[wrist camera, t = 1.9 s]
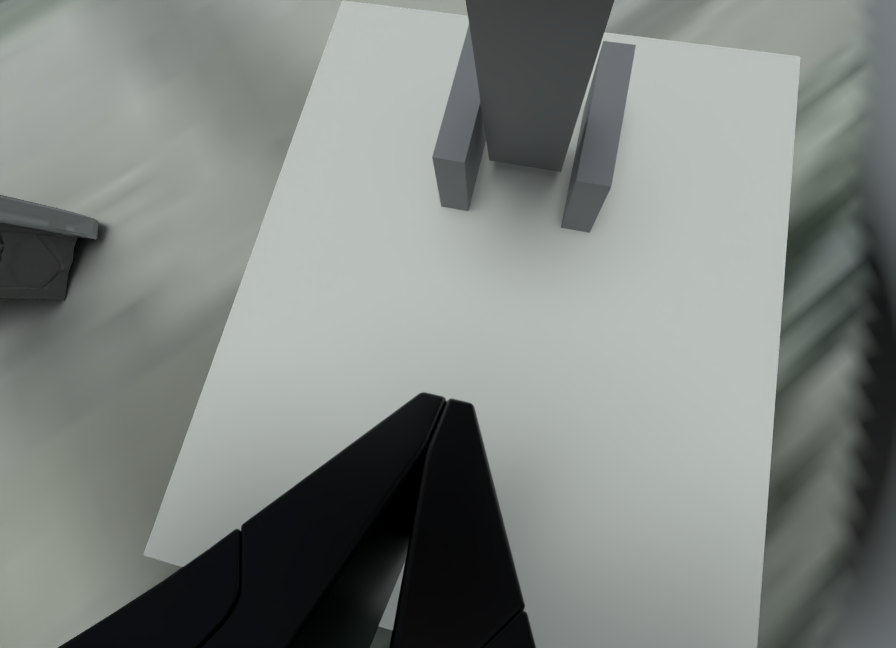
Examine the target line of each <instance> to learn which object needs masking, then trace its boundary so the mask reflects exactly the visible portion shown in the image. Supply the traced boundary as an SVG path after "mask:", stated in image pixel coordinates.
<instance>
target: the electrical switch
mask: <svg viewBox="0 0 896 648" xmlns="http://www.w3.org/2000/svg"><path fill="white" fill-rule="evenodd" d="M97 234H98V221H97V220H95V219H93V218H90V217H87V216H84V215H81V214H77V213H74V212H70V211H66V210H62V209H58V208H54V207H50V206H46V205H41V204H37V203H33V202H28V201H24V200H20V199H16V198H11V197H7V196H3V195H0V298H21V299H55V300H65V295H66V287H67V279H68V272H69V269H70V267H71V264H72V262H73V249H74V246H75V244H76V241H77V239H78V237H81V238H88V239H96V240H97Z"/></svg>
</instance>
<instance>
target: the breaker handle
mask: <svg viewBox="0 0 896 648" xmlns="http://www.w3.org/2000/svg"><path fill="white" fill-rule="evenodd" d="M613 3H614V0H466V5H467V12H468V19H469V26H470V33H471V40H472V46H473V53H474V60H475V67H476V74H477V81H478V88H479V94H480V101H481V108H482V115H483V122H484V129H485V135H486V142H487V149H488V156H489V160H490V161H496V162H502V163H509V164H515V165H521V166H527V167H533V168H539V169H546V170H552V171H558V172H561V170H562V167H563V164H564V161H565V157H566V154H567V151H568V148H569V144H570V141H571V138H572V135H573V131H574V128H575V125H576V122H577V119H578V115H579V112H580V109H581V106H582V102H583V99H584V96H585V93H586V90H587V86H588V83H589V80H590V77H591V73H592V70H593V67H594V64H595V61H596V57H597V54H598V51H599V48H600V44H601V41H602V38H603V35H604V32H605V28H606V25H607V22H608V19H609V15H610V12H611V9H612V6H613Z"/></svg>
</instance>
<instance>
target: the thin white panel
mask: <svg viewBox="0 0 896 648" xmlns="http://www.w3.org/2000/svg"><path fill="white" fill-rule="evenodd" d="M799 70H800V56H793V55H784V54H776V53H768V52H760V51H752V50H744V49H735V48H727V47H719V46H711V45H703V44H694V43H686V42H678V41H670V40H662V39H654V38H645V37H637V36H629V35H621V34H613V33H605V32H604V35H603V38H602V41H601V44H600V48H599V51H598V54H597V57H596V61H595V64H594V67H593V70H592V73H591V77H590V80H589V83H588V86H587V90H586V93H585V96H584V99H583V102H582V106H581V109H580V112H579V115H578V119H577V122H576V125H575V128H574V131H573V135H572V138H571V141H570V144H569V148H568V151H567V154H566V157H565V161H564V164H563V167H562V170H561V172H558V171H552V170H546V169H539V168H533V167H527V166H521V165H515V164H509V163H502V162H496V161H490V160H489V156H488V149H487V142H486V135H485V129H484V122H483V115H482V108H481V101H480V94H479V88H478V81H477V74H476V67H475V60H474V53H473V46H472V40H471V33H470V26H469V19H468V16H466V15H457V14H449V13H441V12H433V11H425V10H417V9H408V8H400V7H392V6H384V5H376V4H368V3H359V2H351V1H343V0H342V2H341V5H340V8H339V10H338V13H337V16H336V19H335V22H334V24H333V27H332V30H331V33H330V36H329V38H328V41H327V44H326V47H325V49H324V52H323V55H322V58H321V61H320V63H319V66H318V69H317V72H316V75H315V77H314V80H313V83H312V86H311V89H310V91H309V94H308V97H307V100H306V103H305V105H304V108H303V111H302V114H301V116H300V119H299V122H298V125H297V128H296V130H295V133H294V136H293V139H292V142H291V144H290V147H289V150H288V153H287V156H286V158H285V161H284V164H283V167H282V169H281V172H280V175H279V178H278V181H277V183H276V186H275V189H274V192H273V195H272V197H271V200H270V203H269V206H268V209H267V211H266V214H265V217H264V220H263V222H262V225H261V228H260V231H259V234H258V236H257V239H256V242H255V245H254V248H253V250H252V253H251V256H250V259H249V262H248V264H247V267H246V270H245V273H244V275H243V278H242V281H241V284H240V287H239V289H238V292H237V295H236V298H235V301H234V303H233V306H232V309H231V312H230V315H229V317H228V320H227V323H226V326H225V328H224V331H223V334H222V337H221V340H220V342H219V345H218V348H217V351H216V354H215V356H214V359H213V362H212V365H211V368H210V370H209V373H208V376H207V379H206V381H205V384H204V387H203V390H202V393H201V395H200V398H199V401H198V404H197V407H196V409H195V412H194V415H193V418H192V421H191V423H190V426H189V429H188V432H187V434H186V437H185V440H184V443H183V446H182V448H181V451H180V454H179V457H178V460H177V462H176V465H175V468H174V471H173V474H172V476H171V479H170V482H169V485H168V487H167V490H166V493H165V496H164V499H163V501H162V504H161V507H160V510H159V513H158V515H157V518H156V521H155V524H154V527H153V529H152V532H151V535H150V538H149V540H148V543H147V546H146V549H145V552H144V554H143V555H144V556H148V557H151V558H154V559H157V560H161V561H164V562H167V563H171V564H174V565H177V566H181V567H184V566H185V565H186V564H188V563H189V562H191V561H192V560H194V559H195V558H196V557H198V556H199V555H201V554H202V553H203V552H205V551H206V550H208V549H209V548H210V547H212V546H213V545H215V544H216V543H217V542H219V541H220V540H221V539H223V538H224V537H225V536H227V535H228V534H229V533H231V532H232V531H233V530H235V529H239V530H241V526H242V524H243V523H245V522H246V521H247V520H249V519H250V518H251V517H253V516H254V515H256V514H257V513H258V512H260V511H261V510H262V509H264V508H265V507H266V506H268V505H269V504H270V503H272V502H273V501H274V500H276V499H277V498H278V497H280V496H281V495H283V494H284V493H285V492H287V491H288V490H289V489H291V488H292V487H293V486H295V485H296V484H297V483H299V482H300V481H301V480H303V479H304V478H305V477H307V476H308V475H310V474H311V473H312V472H314V471H315V470H316V469H318V468H319V467H320V466H322V465H323V464H324V463H326V462H327V461H328V460H330V459H331V458H333V457H334V456H335V455H337V454H338V453H339V452H341V451H342V450H343V449H345V448H346V447H347V446H349V445H350V444H351V443H353V442H354V441H355V440H357V439H358V438H360V437H361V436H362V435H364V434H365V433H366V432H368V431H369V430H370V429H372V428H373V427H374V426H376V425H377V424H378V423H380V422H381V421H382V420H384V419H385V418H387V417H388V416H389V415H391V414H392V413H393V412H395V411H396V410H397V409H399V408H400V407H401V406H403V405H404V404H405V403H407V402H408V401H410V400H411V399H412V398H414V397H415V396H416V395H418V394H419V393H422V392H426V393H431V394H435V395H439V396H443V397H445V398H446V401H447V400H449V399H456V400H461V401H465V402H469V403H472V404H473V405H474V407H475V411H476V415H477V419H478V423H479V426H480V430H481V434H482V438H483V442H484V446H485V450H486V454H487V458H488V462H489V466H490V470H491V474H492V477H493V481H494V485H495V489H496V493H497V497H498V501H499V505H500V509H501V513H502V517H503V521H504V525H505V529H506V532H507V536H508V540H509V544H510V548H511V552H512V556H513V560H514V564H515V568H516V572H517V576H518V580H519V583H520V587H521V591H522V595H523V599H524V603H525V609H524V611H525V612H527V614H528V617H529V621H530V625H531V629H532V633H533V637H534V641H535V645H536V648H757V640H758V627H759V613H760V600H761V586H762V572H763V559H764V545H765V532H766V518H767V504H768V491H769V477H770V464H771V450H772V437H773V423H774V409H775V396H776V382H777V369H778V355H779V342H780V328H781V314H782V301H783V287H784V274H785V260H786V246H787V233H788V219H789V206H790V192H791V179H792V165H793V151H794V138H795V124H796V111H797V97H798V83H799ZM404 565H405V563H404ZM404 565H403V568H402V570H401V573H400V575H399V577H398V580H397V582H396V585H395V587H394V589H393V592H392V594H391V597H390V599H389V602H388V604H387V606H386V609H385V611H384V614H383V616H382V619H381V621H380V623H379V627H382V628H385V629H389V630H392V631H393V626H394V620H395V615H396V609H397V604H398V598H399V593H400V587H401V582H402V576H403V571H404Z"/></svg>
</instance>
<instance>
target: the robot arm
mask: <svg viewBox="0 0 896 648" xmlns="http://www.w3.org/2000/svg"><path fill="white" fill-rule="evenodd" d="M404 563H405V565H404ZM403 565H404V571H403V576H402V582H401V587H400V593H399V598H398V604H397V609H396V615H395V620H394V626H393V631H392V637H391V642H390V648H536V645H535V641H534V637H533V633H532V629H531V625H530V621H529V617H528V614H527V612H525V611H524V609H525V603H524V599H523V595H522V591H521V587H520V583H519V580H518V576H517V572H516V568H515V564H514V560H513V556H512V552H511V548H510V544H509V540H508V536H507V532H506V529H505V525H504V521H503V517H502V513H501V509H500V505H499V501H498V497H497V493H496V489H495V485H494V481H493V477H492V474H491V470H490V466H489V462H488V458H487V454H486V450H485V446H484V442H483V438H482V434H481V430H480V426H479V423H478V419H477V415H476V411H475V407H474V405H473V404H472V403H469V402H465V401H461V400H456V399H449V400H447V401H446V398H445V397H443V396H439V395H435V394H431V393H426V392H422V393H419V394H418V395H416V396H415V397H414V398H412V399H411V400H410V401H408V402H407V403H405V404H404V405H403V406H401V407H400V408H399V409H397V410H396V411H395V412H393V413H392V414H391V415H389V416H388V417H387V418H385V419H384V420H382V421H381V422H380V423H378V424H377V425H376V426H374V427H373V428H372V429H370V430H369V431H368V432H366V433H365V434H364V435H362V436H361V437H360V438H358V439H357V440H355V441H354V442H353V443H351V444H350V445H349V446H347V447H346V448H345V449H343V450H342V451H341V452H339V453H338V454H337V455H335V456H334V457H333V458H331V459H330V460H328V461H327V462H326V463H324V464H323V465H322V466H320V467H319V468H318V469H316V470H315V471H314V472H312V473H311V474H310V475H308V476H307V477H305V478H304V479H303V480H301V481H300V482H299V483H297V484H296V485H295V486H293V487H292V488H291V489H289V490H288V491H287V492H285V493H284V494H283V495H281V496H280V497H278V498H277V499H276V500H274V501H273V502H272V503H270V504H269V505H268V506H266V507H265V508H264V509H262V510H261V511H260V512H258V513H257V514H256V515H254V516H253V517H251V518H250V519H249V520H247V521H246V522H245V523H243V524H242V526H241V530H239V529H235V530H233V531H232V532H231V533H229V534H228V535H227V536H225V537H224V538H223V539H221V540H220V541H219V542H217V543H216V544H215V545H213V546H212V547H210V548H209V549H208V550H206V551H205V552H203V553H202V554H201V555H199V556H198V557H196V558H195V559H194V560H192V561H191V562H189V563H188V564H186V565H185V566H184V567H182V568H181V569H179V570H178V571H177V572H175V573H174V574H172V575H171V576H169V577H168V578H167V579H165V580H164V581H162V582H161V583H159V584H158V585H156V586H155V587H153V588H151V589H150V590H148V591H147V592H145V593H144V594H142V595H141V596H139V597H138V598H136V599H134V600H133V601H131V602H130V603H128V604H127V605H125V606H124V607H122V608H120V609H119V610H117V611H116V612H114V613H113V614H111V615H110V616H108V617H107V618H105V619H103V620H102V621H100V622H98V623H97V624H95V625H94V626H92V627H90V628H89V629H87V630H85V631H84V632H82V633H81V634H79V635H77V636H76V637H74V638H73V639H71V640H69V641H68V642H66V643H64V644H63V645H61V646H60V647H58V648H370V645H371V643H372V640H373V638H374V635H375V633H376V631H377V628H378V626H379V623H380V621H381V619H382V616H383V614H384V611H385V609H386V606H387V604H388V602H389V599H390V597H391V594H392V592H393V589H394V587H395V585H396V582H397V580H398V577H399V575H400V573H401V570H402V568H403Z"/></svg>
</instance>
